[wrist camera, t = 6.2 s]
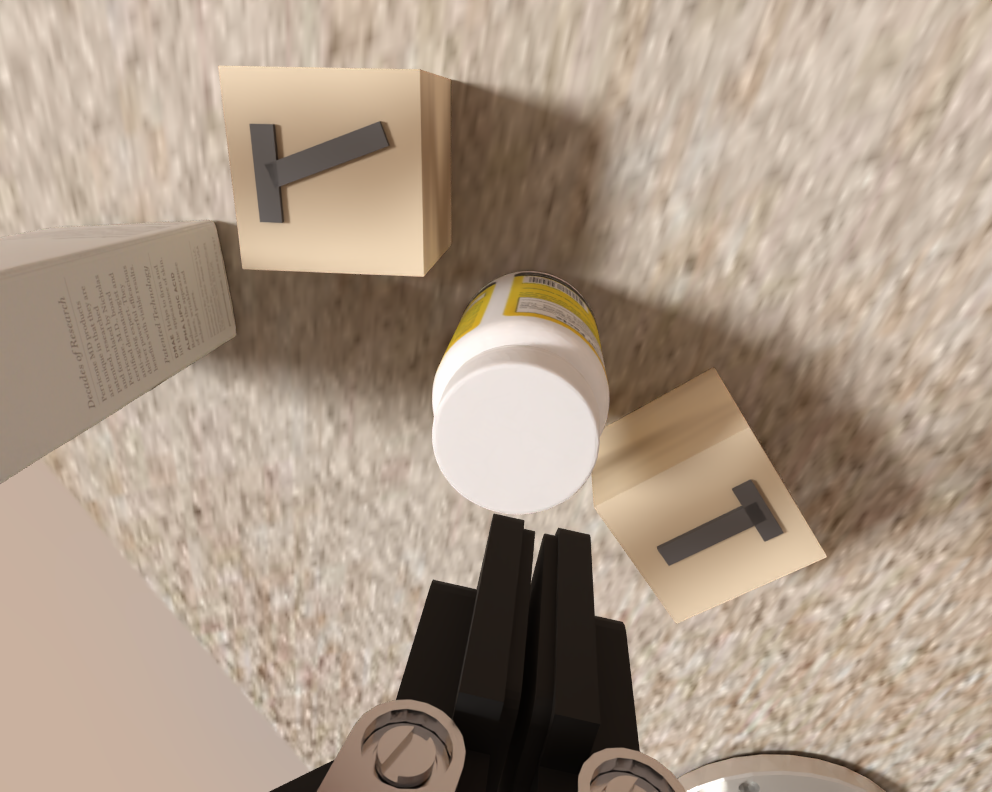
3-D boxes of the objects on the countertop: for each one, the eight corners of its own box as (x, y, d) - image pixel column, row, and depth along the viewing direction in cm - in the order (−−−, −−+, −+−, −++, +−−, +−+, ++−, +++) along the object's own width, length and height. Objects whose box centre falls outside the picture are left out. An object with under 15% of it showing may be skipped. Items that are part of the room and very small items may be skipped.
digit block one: (778, 475, 25) (828, 560, 20) (656, 535, 26) (677, 627, 22) (713, 366, 24) (750, 429, 19) (588, 435, 25) (594, 509, 20)
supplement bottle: (484, 412, 25) (448, 546, 17) (442, 290, 23) (382, 377, 16) (613, 380, 24) (637, 506, 16) (579, 251, 22) (587, 322, 15)
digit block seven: (452, 244, 23) (422, 278, 18) (306, 238, 23) (240, 270, 19) (451, 79, 21) (418, 69, 16) (292, 76, 21) (215, 65, 17)
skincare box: (90, 341, 25) (-282, 519, 14) (53, 217, 24) (-402, 308, 13) (249, 335, 25) (-11, 516, 14) (222, 207, 23) (-99, 294, 12)
